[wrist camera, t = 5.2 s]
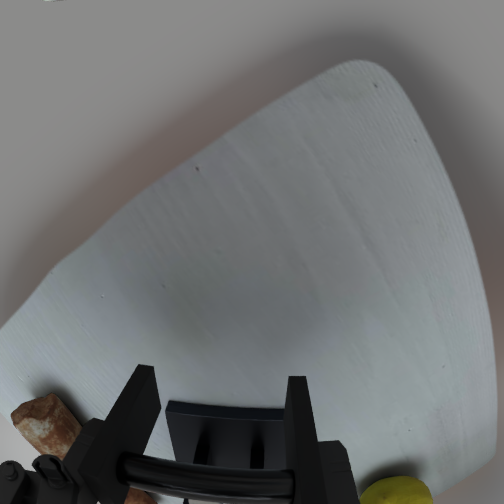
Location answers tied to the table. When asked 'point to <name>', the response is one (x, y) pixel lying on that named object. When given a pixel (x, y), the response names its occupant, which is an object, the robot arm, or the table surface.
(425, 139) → the table surface
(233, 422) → the bracket
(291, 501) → the lever
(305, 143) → the table surface
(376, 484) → the lemon
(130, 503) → the bread
